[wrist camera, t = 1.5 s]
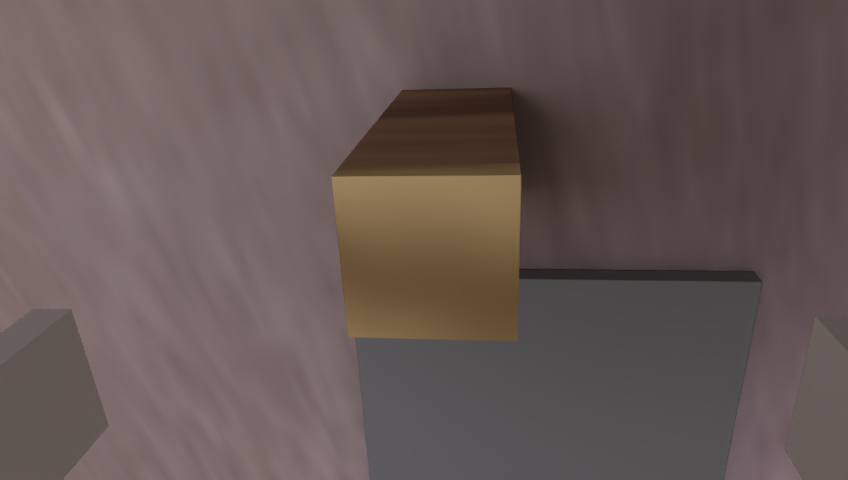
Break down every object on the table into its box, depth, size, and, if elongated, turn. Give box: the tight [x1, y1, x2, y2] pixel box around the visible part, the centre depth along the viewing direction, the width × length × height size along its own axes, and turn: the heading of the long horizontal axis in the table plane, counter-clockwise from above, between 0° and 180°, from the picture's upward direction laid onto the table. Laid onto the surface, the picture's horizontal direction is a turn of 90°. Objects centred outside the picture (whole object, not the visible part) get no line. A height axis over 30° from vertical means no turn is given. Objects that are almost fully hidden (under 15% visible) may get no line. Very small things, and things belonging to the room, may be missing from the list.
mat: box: [356, 269, 762, 480], centre depth 32 cm, size 20×18×1 cm
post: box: [331, 88, 521, 341], centre depth 21 cm, size 4×4×12 cm
